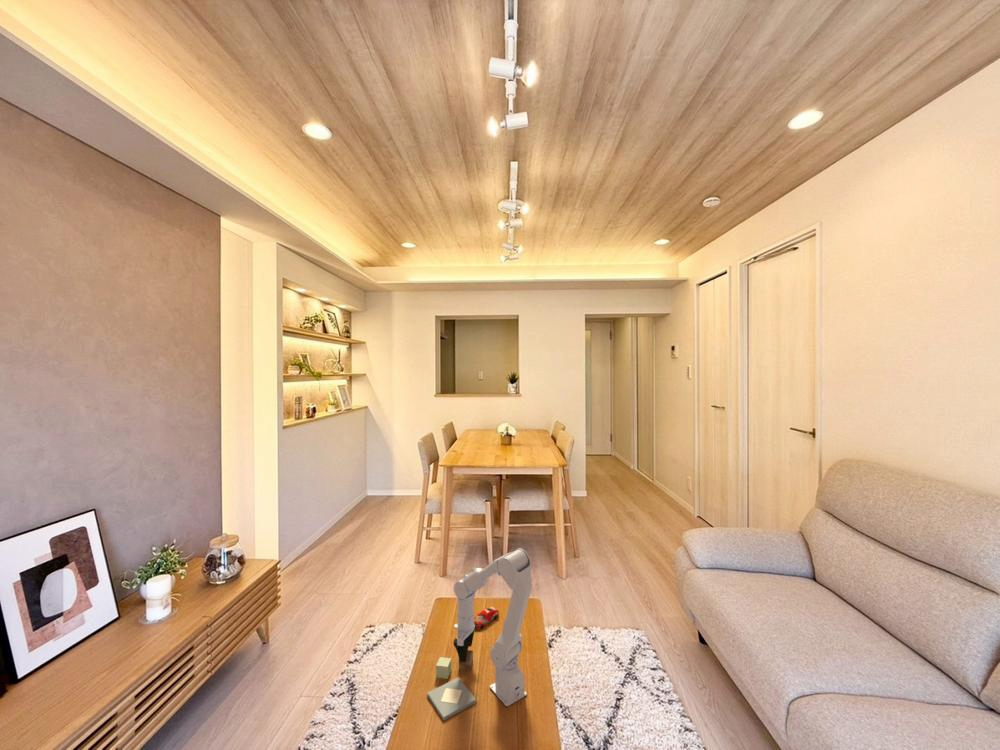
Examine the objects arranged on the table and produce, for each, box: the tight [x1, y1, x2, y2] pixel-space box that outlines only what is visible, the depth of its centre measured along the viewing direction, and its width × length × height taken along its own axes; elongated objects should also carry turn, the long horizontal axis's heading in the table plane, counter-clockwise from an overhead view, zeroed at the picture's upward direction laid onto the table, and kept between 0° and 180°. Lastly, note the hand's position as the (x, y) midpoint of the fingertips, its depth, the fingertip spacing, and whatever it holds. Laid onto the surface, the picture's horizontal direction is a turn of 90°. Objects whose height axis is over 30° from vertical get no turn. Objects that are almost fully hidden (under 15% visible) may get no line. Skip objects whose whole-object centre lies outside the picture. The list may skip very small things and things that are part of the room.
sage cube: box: [435, 656, 452, 680], centre depth 132 cm, size 4×4×4 cm
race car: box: [474, 606, 500, 630], centre depth 161 cm, size 13×5×4 cm, turn 137°
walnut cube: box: [458, 649, 474, 671], centre depth 136 cm, size 4×4×4 cm
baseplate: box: [426, 677, 477, 721], centre depth 121 cm, size 11×11×1 cm
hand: (465, 653), depth 136 cm, fingers open, 7 cm apart
